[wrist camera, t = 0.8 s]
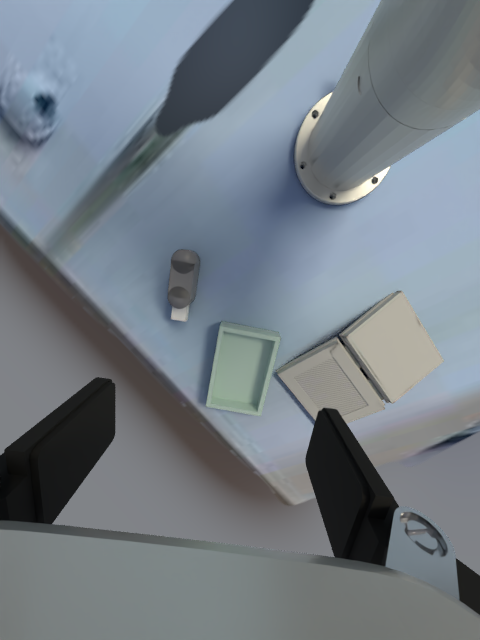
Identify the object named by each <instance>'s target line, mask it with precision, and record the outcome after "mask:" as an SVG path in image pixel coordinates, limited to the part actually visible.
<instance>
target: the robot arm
mask: <svg viewBox="0 0 480 640" xmlns="http://www.w3.org/2000/svg"><path fill="white" fill-rule="evenodd" d="M479 109H480V0H381V2H380V4H379V5H378V7H377V9H376V11H375V13H374V15H373V17H372V19H371V21H370V23H369V24H368V26H367V28H366V30H365V32H364V34H363V36H362V38H361V40H360V42H359V43H358V45H357V47H356V49H355V51H354V53H353V55H352V57H351V59H350V61H349V62H348V64H347V66H346V68H345V70H344V72H343V74H342V76H341V78H340V80H339V81H338V83H337V85H336V87H335V89H334V91H333V92H331V93H329V94H327V95H326V96H324V97H323V98H322V99H320V100H319V101H318V102H317V103H316V104H315V105H314V106H313V107H312V108H311V110H310V111H309V113H308V114H307V115H306V117H305V119H304V121H303V123H302V125H301V127H300V130H299V132H298V135H297V139H296V143H295V150H294V161H295V169H296V172H297V176H298V178H299V180H300V182H301V184H302V186H303V187H304V189H305V190H306V191H307V192H308V193H309V194H310V195H311V196H312V197H313V198H315V199H317V200H318V201H320V202H322V203H326V204H330V205H343V204H349V203H352V202H354V201H357V200H359V199H361V198H363V197H365V196H366V195H367V194H369V193H370V192H372V191H373V190H374V189H375V188H376V187H377V186H378V185H379V184H380V183H381V181H382V180H383V179H384V177H385V176H386V174H387V173H388V171H389V169H390V167H391V165H393V164H394V163H396V162H397V161H399V160H401V159H402V158H404V157H405V156H407V155H409V154H410V153H412V152H413V151H415V150H416V149H418V148H420V147H421V146H423V145H424V144H426V143H428V142H429V141H431V140H432V139H434V138H435V137H437V136H439V135H440V134H442V133H443V132H445V131H447V130H448V129H450V128H451V127H453V126H454V125H456V124H458V123H459V122H461V121H462V120H464V119H465V118H467V117H469V116H470V115H472V114H473V113H475V112H476V111H478V110H479ZM313 117H315V119H314V118H313ZM300 166H303V169H301V168H300ZM371 181H372V182H373V184H372V182H371ZM329 196H332V199H330V198H329ZM114 436H115V384H114V383H112V380H111V379H106V378H99V377H98V378H95V379H94V380H92V381H91V382H90V383H89V384H87V385H86V386H85V387H83V388H82V389H81V390H80V391H78V392H77V393H76V394H74V395H73V396H72V397H71V398H69V399H68V400H67V401H66V402H64V403H63V404H62V405H61V406H59V407H58V408H57V409H55V410H54V411H53V412H52V413H50V414H49V415H48V416H46V417H45V418H44V419H43V420H41V421H40V422H39V423H38V424H36V425H35V426H34V427H33V428H31V429H30V430H29V431H27V432H26V433H25V434H24V435H22V436H21V437H20V438H19V439H17V440H16V441H15V442H13V443H12V444H11V445H10V446H8V447H7V448H6V449H5V452H4V453H3V454H2V455H0V640H480V576H479V575H478V574H477V573H475V572H474V571H473V570H471V569H470V568H469V567H467V566H466V565H464V564H463V563H462V562H460V561H459V560H458V559H456V557H455V552H454V548H453V546H452V544H451V542H450V540H449V539H448V537H447V536H446V535H445V533H444V532H443V531H442V530H441V528H439V527H438V526H437V525H436V524H435V523H434V522H433V521H432V520H431V519H429V518H428V517H426V516H425V515H424V514H422V513H420V512H419V511H417V510H415V509H412V508H409V507H399V506H398V504H397V503H396V501H395V500H394V497H393V496H392V494H391V492H390V491H389V490H388V488H387V486H386V485H385V483H384V482H383V480H382V479H381V477H380V475H379V474H378V472H377V471H376V469H375V468H374V466H373V464H372V463H371V461H370V460H369V458H368V457H367V455H366V454H365V452H364V450H363V449H362V447H361V446H360V444H359V443H358V441H357V440H356V438H355V436H354V435H353V433H352V432H351V430H350V429H349V427H348V426H347V424H346V422H345V421H344V419H343V418H342V416H341V415H340V413H339V412H338V410H337V409H332V408H323V409H322V410H319V411H318V413H317V417H316V421H315V425H314V428H313V432H312V436H311V439H310V443H309V447H308V451H307V454H306V467H307V470H308V473H309V476H310V480H311V483H312V486H313V489H314V493H315V496H316V499H317V502H318V505H319V508H320V512H321V515H322V518H323V521H324V525H325V528H326V531H327V534H328V537H329V541H330V543H331V547H332V550H333V553H334V556H335V557H328V556H320V555H314V554H307V553H298V552H290V551H282V550H273V549H266V548H257V547H249V546H242V545H233V544H225V543H216V542H207V541H199V540H191V539H182V538H173V537H164V536H156V535H147V534H138V533H129V532H120V531H111V530H101V529H93V528H83V527H74V526H65V525H53V524H52V523H53V522H54V520H55V519H56V518H57V516H58V515H59V513H60V512H61V511H62V509H63V508H64V507H65V505H66V504H67V503H68V501H69V499H70V498H71V497H72V496H73V494H74V493H75V492H76V490H77V489H78V487H79V486H80V485H81V483H82V482H83V480H84V479H85V478H86V476H87V475H88V474H89V472H90V471H91V470H92V468H93V467H94V465H95V464H96V463H97V461H98V460H99V459H100V457H101V456H102V455H103V453H104V452H105V450H106V449H107V448H108V446H109V445H110V443H111V442H112V440H113V439H114Z"/></svg>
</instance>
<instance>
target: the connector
mask: <svg viewBox="0 0 480 640" xmlns="http://www.w3.org/2000/svg"><path fill="white" fill-rule="evenodd" d="M199 268H200V258H199V256H198V254H197V253H195V252H194V251H191V250H183V249H181V250H178V251H176V252H175V253H174V254H173V256H172V259H171V268H170V278H169V288H168V301H169V303H170V304H171V305H172V314H171V319H173V320H179V321H184V322H186V321H187V320H188V314H189V306H190V303H191V302H193V301H194V299H195V296H196V289H197V282H198V275H199Z"/></svg>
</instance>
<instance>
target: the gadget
mask: <svg viewBox="0 0 480 640" xmlns="http://www.w3.org/2000/svg"><path fill="white" fill-rule="evenodd" d="M339 336H340V337H341V339H342V340H343V342H344V343H345V345H344V346H343V345H342V343H341V342H340V341H339V339H338V338H337V337H335V338H333V339H331V340H329V341H327V342H325V343H324V344H322V345H320V346H318V347H316V348H314V349H313V350H311V351H309V352H307V353H305V354H303V355H301V356H300V357H298V358H296V359H294V360H292V361H290V362H289V363H287V364H285V365H284V366H282V367H281V368H279V369H278V370H276V372H277V373H278V376H279V377H280V378H281V379H282V381H283V382H284V383H285V384H286V385H287V387H288V388H289V389H290V390H291V392H292V393H293V394H294V395H295V396H296V398H297V399H298V400H299V401H300V403H301V404H302V405H303V406H304V407H305V409H306V410H307V411H308V412H309V414H310V415H311V416H312V417H313V418H314V420H315V421H316V417H317V413H318V411H319V410H322V409H323V408H332V409H337V410H338V412H339V413H340V415H341V416H342V418H343V419H344V421H345V422H346V424H347V423H349V422H352V421H355V420H357V419H360V418H363V417H365V416H368V415H370V414H373V413H376V412H378V411H381V410H384V409H385V407H384V405H385V404H384V403H383V401H382V400H383V399H384V400H385V401H386V402H387V403H389V402H391V403H392V404H393V403H394V402H395V401H397V400H398V399H399V398H400V397H402V396H403V395H404V394H405V393H406V392H408V391H409V390H410V389H411V388H412V387H414V386H415V385H416V384H417V383H418V382H420V381H421V380H422V379H423V378H424V377H426V376H427V375H428V374H429V373H430V372H432V371H433V370H434V369H435V368H436V367H438V366H439V365H440V364H441V363H442V362H444V360H443V358H442V357H441V355H440V353H439V352H438V350H437V348H436V347H435V345H434V343H433V342H432V340H431V338H430V337H429V335H428V333H427V332H426V330H425V328H424V327H423V325H422V323H421V322H420V320H419V318H418V317H417V315H416V313H415V312H414V310H413V308H412V307H411V305H410V303H409V302H408V300H407V298H406V297H405V295H404V293H403V292H402V291H397V292H395V293H391V294H390V295H388V296H387V297H385V298H384V299H382V300H381V301H380V302H378V303H377V304H376V305H375V306H373V307H372V308H371V309H370V310H369V311H367V312H366V313H365V314H364V315H362V316H361V317H360V318H359V319H358V320H356V321H355V322H354V323H353V324H352V325H350V326H349V327H348V328H347V329H345V330H344V331H343V332H342V333H341V334H339ZM361 367H362V369H363V370H364V371H365V373H366V374H367V376H368V377H369V378H367V379H366V377H365V376H364V374H363V373H362V372H361V370H360V369H359V368H361Z"/></svg>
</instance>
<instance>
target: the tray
mask: <svg viewBox="0 0 480 640" xmlns="http://www.w3.org/2000/svg"><path fill="white" fill-rule="evenodd" d="M280 340H281V337H280V334H279V332H275V331H270V330H265V329H259V328H254V327H249V326H244V325H238V324H233V323H228V322H223V321H222V322H221V324H220V328H219V333H218V339H217V345H216V350H215V356H214V362H213V368H212V373H211V379H210V385H209V390H208V396H207V402H206V407H211V408H217V409H222V410H228V411H233V412H239V413H244V414H250V415H255V416H261V413H262V409H263V405H264V401H265V398H266V394H267V390H268V386H269V382H270V378H271V374H272V370H273V367H274V363H275V359H276V355H277V351H278V347H279V343H280Z"/></svg>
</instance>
